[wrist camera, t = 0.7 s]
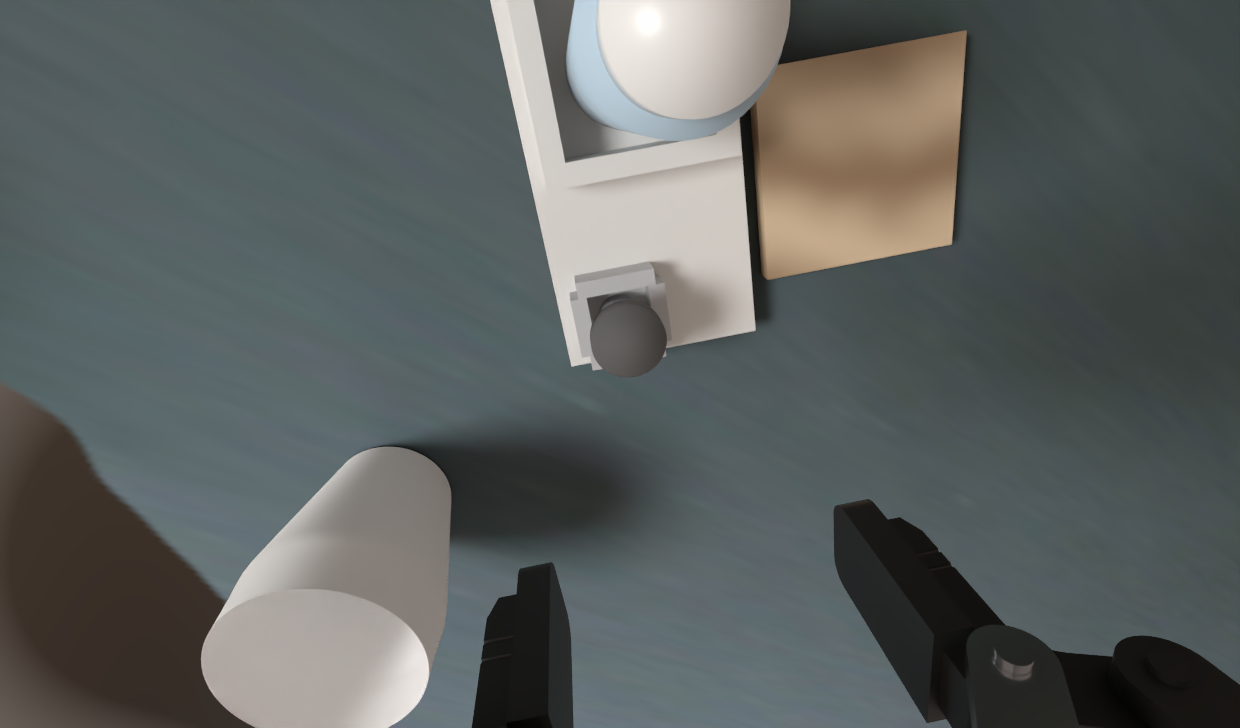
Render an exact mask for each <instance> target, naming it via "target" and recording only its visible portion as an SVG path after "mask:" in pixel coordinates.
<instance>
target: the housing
mask: <svg viewBox="0 0 1240 728" xmlns="http://www.w3.org/2000/svg"><path fill="white" fill-rule="evenodd" d="M490 1H491V6H492V10H493V15H494V19H495V24H496V28H497V33H498V37H499V42H500V46H501V51H502V55H503V60H504V64H505V69H506V73H507V78H508V82H509V87H510V91H511V96H512V100H513V105H514V109H515V114H516V118H517V123H518V127H519V132H520V136H521V141H522V145H523V150H524V154H525V159H526V163H527V168H528V172H529V177H530V181H531V186H532V190H533V195H534V199H535V204H536V208H537V213H538V217H539V222H540V226H541V231H542V235H543V240H544V244H545V249H546V253H547V258H548V262H549V267H550V271H551V276H552V280H553V285H554V289H555V294H556V298H557V303H558V307H559V312H560V316H561V321H562V325H563V330H564V334H565V339H566V343H567V348H568V352H569V357H570V361H571V366H577V365H582V364H587V363H591V364H592V368H593V371H594V370H599V369H603V368H602V367H601V366H600V365H599V364H598V363H597V361H596V360H595V358H594V356H593V353H592V349H591V342H590V330H591V326H592V323H593V321H594V319H595V318H596V316H597V315H598V313H599V309H600V307H601V305H602V303H603V302H604V301H605V300H606V299H607V298H608V297H610V296H612V295H615V294H627V295H630V296H632V297H633V298H635V299H636V300H637V301H639V302H642V303H645V304H646V305H648V306H650V307H651V308H652V309H653V310H654V311H655V312H656V313H657V314H658V316H659V317H660V319H661V321H662V323H663V325H664V327H665V330H666V334H667V346H666V348H669V347H674V346H679V345H684V344H689V343H695V342H700V341H705V340H710V339H715V338H720V337H725V336H730V335H736V334H741V333H746V332H751V331H756V330H755V317H754V303H753V290H752V277H751V264H750V250H749V237H748V224H747V211H746V197H745V184H744V171H743V158H742V144H741V131H740V118H739V119H738V120H736V121H735V122H734V123H732V124H731V125H729V126H727V127H726V128H724V129H722V130H720V131H718V132H716V133H714V134H711V135H709V136H706V137H702V138H698V139H694V140H686V141H668V140H662V139H656V138H652V137H647V136H643V135H639V134H634V133H630V132H626V131H621V130H617V129H613V128H609V127H606V126H603V125H601V124H599V123H597V122H595V121H594V120H592V119H591V118H589V117H588V116H587V115H586V114H585V113H584V112H583V111H582V110H581V109H580V108H579V106H578V105H577V103H576V102H575V100H574V98H573V96H572V94H571V92H570V89H569V87H568V83H567V79H566V71H565V58H566V50H567V44H568V38H569V32H570V26H571V20H572V14H573V8H574V2H575V0H490ZM665 356H666V350H665V353H664V355H663V357H665Z"/></svg>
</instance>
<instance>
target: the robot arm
mask: <svg viewBox="0 0 1240 728" xmlns="http://www.w3.org/2000/svg"><path fill="white" fill-rule="evenodd" d="M834 557H835V564H836V568H837V572H838V575H839V577H840V580H841V582H842V584H843V586H844V588H845V589H846V591H847V593H848V594H849V596H850V598H851V599H852V601H853V602H854V604H855V606H856V607H857V609H858V611H859V612H860V614H861V616H862V617H863V619H864V621H865V622H866V624H867V625H868V627H869V629H870V630H871V632H872V634H873V635H874V637H875V639H876V640H877V642H878V643H879V645H880V647H881V648H882V650H883V652H884V653H885V655H886V657H887V658H888V660H889V662H890V663H891V665H892V666H893V668H894V670H895V671H896V673H897V675H898V676H899V678H900V680H901V681H902V683H903V684H904V686H905V688H906V689H907V691H908V693H909V694H910V696H911V698H912V699H913V701H914V703H915V704H916V706H917V707H918V709H919V711H920V712H921V714H922V716H923V717H924V719H925V721H926V722H927V723H930V722H934V721H939V720H944V719H947V720H948V722H949V724H950V725H951V727H952V728H1240V685H1239V684H1238V683H1237V682H1235V681H1234V680H1233V679H1231V678H1230V677H1229V676H1227V675H1226V674H1225V673H1223V672H1222V671H1221V670H1219V669H1218V668H1217V667H1215V666H1214V665H1213V664H1211V663H1210V662H1209V661H1207V660H1206V659H1204V658H1203V657H1201V656H1200V655H1199V654H1197V653H1195V652H1193V651H1192V650H1190V649H1188V648H1186V647H1184V646H1182V645H1179V644H1177V643H1174V642H1172V641H1169V640H1165V639H1162V638H1157V637H1152V636H1132V637H1128V638H1125V639H1123V640H1121V641H1120V642H1119V643H1118V644H1117V645H1116V647H1115V650H1114V654H1113V657H1110V656H1098V655H1086V654H1074V653H1065V652H1058V651H1054V650H1051V649H1050V648H1049V647H1048V646H1047V645H1046V644H1045V643H1043V642H1042V641H1041V640H1039V639H1038V638H1036V637H1035V636H1033V635H1031V634H1029V633H1027V632H1025V631H1023V630H1020V629H1017V628H1014V627H1010V626H1006V625H1005V624H1004V623H1003V622H1002V621H1001V620H1000V619H999V618H998V616H997V615H996V614H995V613H994V612H993V611H992V610H991V608H990V607H989V606H988V605H987V604H986V603H985V602H984V600H983V599H982V598H981V597H980V596H979V595H978V594H977V593H976V591H975V590H974V589H973V588H972V587H971V586H970V585H969V583H968V582H967V581H966V580H965V579H964V578H963V577H962V575H961V574H960V573H959V572H958V571H957V570H956V569H955V568H954V567H952V566H951V563H950V562H949V561H948V560H947V558H946V557H945V556H944V555H943V554H942V553H941V552H940V553H939V551H938V548H937V547H936V546H935V545H934V544H933V543H932V541H931V540H930V539H929V538H928V537H927V536H926V535H925V533H924V532H923V531H922V530H920V529H918V528H917V527H915V526H913V525H912V524H910V523H908V522H907V521H905V520H903V519H902V518H900V517H899V518H894V519H889V520H888V519H887V518H886V517H885V516H884V515H883V513H882V512H881V511H880V510H879V508H878V507H877V506H876V505H875V504H874V503H873V502H872V501H871V500H869V499H866V500H861V501H856V502H851V503H846V504H842V505H837V506H835V508H834ZM481 659H482V663H481V665H480V673H479V680H478V687H477V694H476V701H475V709H474V716H473V723H472V728H573V695H572V658H571V634H570V626H569V620H568V614H567V610H566V607H565V603H564V599H563V596H562V592H561V589H560V585H559V581H558V578H557V574H556V571H555V567H554V565H553V563H552V562H551V563H546V564H541V565H536V566H531V567H526V568H521V569H520V570H519V573H518V584H517V594H516V595H511V596H506V597H501V598H499V599H498V600H497V602H496V604H495V606H494V607H493V609H492V611H491V613H490V614H489V616H488V618H487V622H486V629H485V636H484V645H483V651H482V658H481Z"/></svg>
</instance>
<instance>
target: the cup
mask: <svg viewBox="0 0 1240 728" xmlns="http://www.w3.org/2000/svg"><path fill="white" fill-rule="evenodd" d="M450 517H451V489H450V485H449V482H448V480H447V478H446V476H445V475H444V473H443V472H442V470H441V469H440V468H439V467H438V466H437V465H436V464H435V463H434V462H433V461H431V460H430V459H428V458H427V457H425V456H424V455H421V454H419V453H417V452H415V451H412V450H409V449H405V448H399V447H377V448H372V449H369V450H366V451H363V452H361V453H359V454H357V455H355V456H354V457H352V458H351V459H349V460H348V461H347V462H346V463H345V464H344V465H343V466H342V467H341V468H340V469H339V470H338V471H337V473H336V474H335V475H334V476H333V477H332V478H331V479H330V480H329V481H328V482H327V483H326V484H325V485H324V486H323V487H322V488H321V489H320V490H319V491H318V492H317V493H316V495H315V496H314V497H313V498H312V499H311V500H310V501H309V502H308V503H307V504H306V505H305V506H304V507H303V508H302V509H301V510H300V511H299V512H298V513H297V514H296V515H295V517H294V518H293V519H292V520H291V521H290V522H289V523H288V524H287V525H286V526H285V527H284V528H283V529H282V530H281V531H280V532H279V533H278V534H277V535H276V536H275V538H274V539H273V540H272V541H271V542H270V543H269V544H268V545H267V546H266V547H265V548H264V549H263V550H262V551H261V552H260V553H259V554H258V556H257V557H256V558H255V559H254V560H253V561H252V562H251V564H250V565H249V566H248V567H247V568H246V570H245V571H244V572H243V574H242V575H241V577H240V579H239V580H238V582H237V584H236V586H235V588H234V590H233V591H232V593H231V595H230V597H229V599H228V601H227V602H226V604H225V606H224V608H223V609H222V611H221V613H220V615H219V616H218V618H217V620H216V621H215V623H214V625H213V626H212V628H211V630H210V632H209V633H208V635H207V637H206V639H205V642H204V645H203V648H202V655H201V665H202V670H203V675H204V678H205V680H206V683H207V685H208V687H209V689H210V690H211V692H212V693H213V695H214V696H215V697H216V699H217V700H218V701H219V702H220V703H221V704H222V705H223V706H224V707H225V708H226V709H227V710H228V711H230V712H231V713H232V714H233V715H235V716H236V717H238V718H239V719H241V720H243V721H244V722H246V723H248V724H250V725H252V726H254V727H256V728H388V727H390V726H391V725H393V724H395V723H396V722H398V721H399V720H401V719H402V718H404V717H405V716H406V715H407V714H408V713H409V712H410V711H411V710H412V709H413V708H414V707H415V706H416V705H417V704H418V702H419V701H420V699H421V697H422V696H423V694H424V692H425V689H426V686H427V683H428V679H429V676H430V672H431V668H432V665H433V661H434V657H435V654H436V651H437V648H438V645H439V642H440V639H441V637H442V634H443V630H444V626H445V620H446V612H447V591H448V566H449V542H450Z"/></svg>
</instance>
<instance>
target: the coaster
mask: <svg viewBox="0 0 1240 728" xmlns="http://www.w3.org/2000/svg"><path fill="white" fill-rule="evenodd" d="M966 34H967V30H965V31H960V32H955V33H949V34H944V35H938V36H933V37H927V38H922V39H916V40H911V41H905V42H900V43H895V44H889V45H884V46H878V47H873V48H867V49H862V50H856V51H851V52H846V53H840V54H835V55H829V56H824V57H818V58H813V59H807V60H802V61H796V62H791V63H786V64H780V65H777V68H776V70H775V72H774V74H773V76H772V78H771V80H770V82H769V84H768V85H767V87H766V88H765V90H764V92H763V93H762V95H761V96H760V97H759V98H758V100H757V101H756V102H755V103H754V105H753V106H752V107H751V108H750V111H751V126H752V141H753V156H754V170H755V185H756V200H757V215H758V229H759V244H760V259H761V273H762V276H764V277H765V278H766V279H767V280H770V279H775V278H780V277H785V276H790V275H795V274H801V273H806V272H811V271H816V270H821V269H827V268H832V267H837V266H842V265H847V264H852V263H858V262H863V261H868V260H873V259H878V258H884V257H889V256H894V255H899V254H904V253H909V252H915V251H920V250H925V249H930V248H935V247H940V246H946V245H951V244H952V234H953V220H954V205H955V191H956V177H957V163H958V148H959V134H960V120H961V106H962V91H963V77H964V63H965V48H966Z"/></svg>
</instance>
